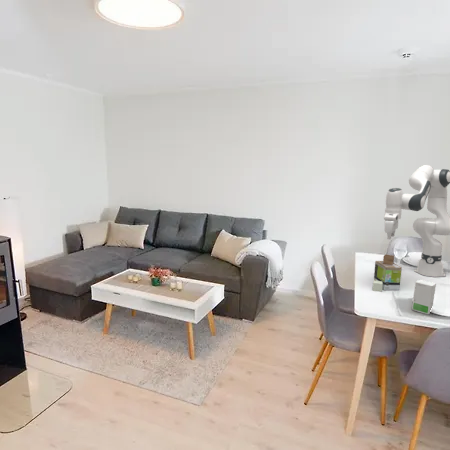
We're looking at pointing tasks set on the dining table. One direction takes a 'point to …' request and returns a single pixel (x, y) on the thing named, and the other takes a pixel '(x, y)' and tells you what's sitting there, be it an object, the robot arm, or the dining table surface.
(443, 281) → the dining table surface
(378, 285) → the sage block
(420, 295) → the skincare box
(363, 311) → the dining table surface
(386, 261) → the walnut block
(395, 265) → the tea box
